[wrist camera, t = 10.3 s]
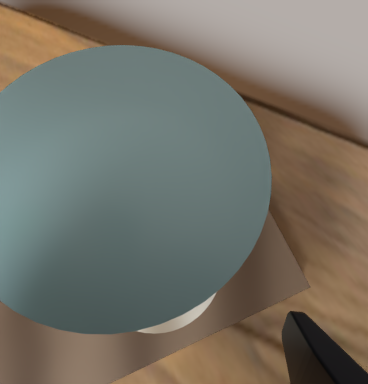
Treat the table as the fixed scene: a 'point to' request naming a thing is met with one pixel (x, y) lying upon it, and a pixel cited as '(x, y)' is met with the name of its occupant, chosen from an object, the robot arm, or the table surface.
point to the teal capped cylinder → (125, 188)
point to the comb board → (153, 336)
